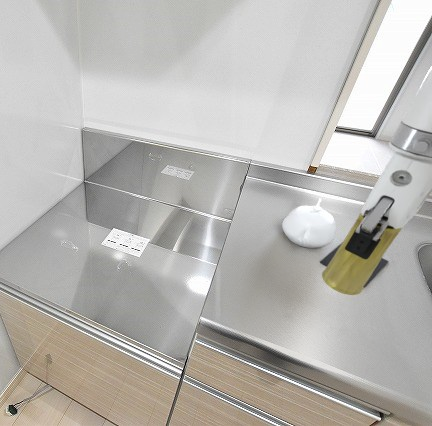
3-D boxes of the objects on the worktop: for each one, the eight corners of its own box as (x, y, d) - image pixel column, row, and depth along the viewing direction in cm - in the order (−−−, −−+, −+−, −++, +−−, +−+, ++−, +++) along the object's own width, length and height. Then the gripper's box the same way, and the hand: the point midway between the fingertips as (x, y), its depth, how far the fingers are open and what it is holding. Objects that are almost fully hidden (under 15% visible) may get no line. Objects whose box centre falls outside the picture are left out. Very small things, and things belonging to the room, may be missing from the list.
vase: (326, 291, 51) (365, 227, 43) (317, 267, 56) (351, 205, 48) (367, 299, 50) (415, 234, 42) (354, 273, 55) (395, 211, 47)
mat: (388, 262, 74) (389, 261, 74) (364, 287, 68) (365, 287, 67) (344, 240, 81) (345, 240, 80) (319, 262, 74) (319, 261, 74)
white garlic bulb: (288, 211, 92) (300, 184, 86) (334, 226, 86) (350, 197, 80) (271, 246, 79) (283, 217, 73) (323, 266, 73) (341, 236, 67)
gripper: (451, 170, 31) (368, 284, 42) (488, 134, 39) (410, 238, 49) (369, 148, 36) (314, 255, 47) (416, 120, 44) (359, 217, 55)
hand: (364, 245), depth 48 cm, fingers closed on vase, 5 cm apart
